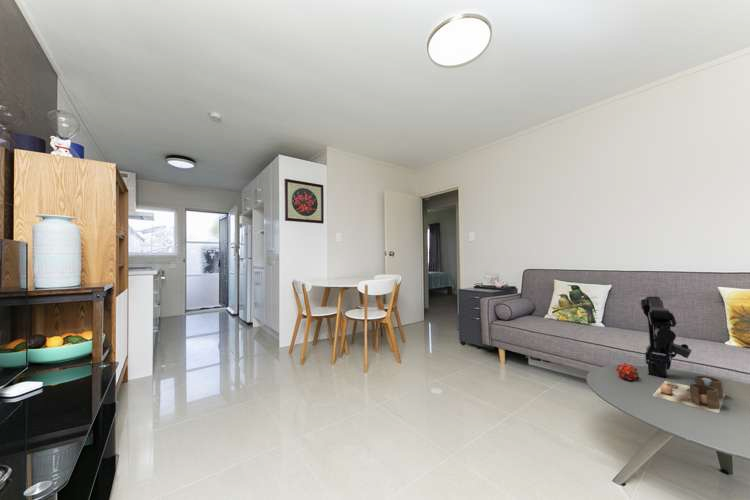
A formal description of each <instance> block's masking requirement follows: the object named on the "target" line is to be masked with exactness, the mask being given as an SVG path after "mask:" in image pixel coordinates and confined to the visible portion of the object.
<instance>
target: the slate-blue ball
mask: <svg viewBox="0 0 750 500" xmlns="http://www.w3.org/2000/svg"><path fill="white" fill-rule="evenodd" d="M701 379H702V380H704V385H707V386H711V380H710V379H708V378H701Z"/></svg>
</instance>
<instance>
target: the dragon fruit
mask: <svg viewBox="0 0 750 500" xmlns="http://www.w3.org/2000/svg"><path fill="white" fill-rule="evenodd" d="M637 370H638V368H637V367H635V366H633V365H632V364H630V363H626V362H623V363H622V364H618V365H617V368H616V370H615V371H616V373H617V374H618V376H619V377H620V378H621V379H624V380H627V381H636V380H638V379H640V374H639V372H638V371H637Z"/></svg>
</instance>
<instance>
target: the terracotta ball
mask: <svg viewBox="0 0 750 500" xmlns="http://www.w3.org/2000/svg"><path fill="white" fill-rule="evenodd" d="M659 387H660V390H661V391H662V392H663V393H665V394H672V392H673V390H672V388H671V387H670V386H668V385H662V384H661V385H660V386H659Z"/></svg>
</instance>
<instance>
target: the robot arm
mask: <svg viewBox="0 0 750 500" xmlns="http://www.w3.org/2000/svg"><path fill="white" fill-rule="evenodd" d="M639 306H640V310H642V313H643V314H644V315H645V317H646V319H647V330H648V331H647V332H648V340H649V344H648V345H647V347H646V348H645V349H646V350H645V351H644V362H645V364H646V365H647V368H648V369H647V370H648V373H647V376H652V377H656V378H661V379H666V378H668V377H669V374H668V370H671V369H670V368H671V365H672V360H673V359H674V358H675V357H676V356H677V355H678V356H681V357H683V358H686V359H689V357H690V355H691V353H692V351H693V350H692V349H691V348H689V345H688V344H685V343H682V344H676V343H675V339H676V338H677V336H676V334H675V332H674V331H673V330H672V329H671V327H672V328H674V327H676V326H677V322H676V321H677V320H676V318H675V315H674V314H673V313H672V312H671V311H670V310H669V309H668V308H665V307H664V302H663V300H661V297H659V296H646V297H645V298H643V299H641V300H640V305H639Z"/></svg>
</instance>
